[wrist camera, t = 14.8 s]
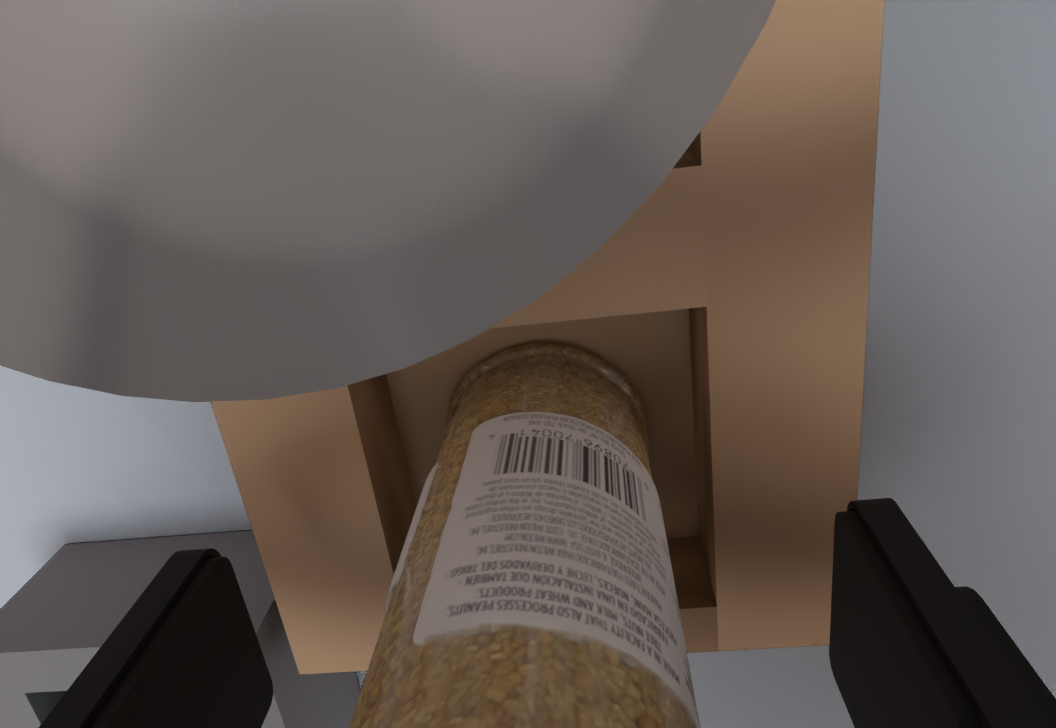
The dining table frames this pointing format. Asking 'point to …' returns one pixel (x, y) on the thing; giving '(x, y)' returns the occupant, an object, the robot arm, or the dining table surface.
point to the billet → (323, 175)
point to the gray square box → (105, 598)
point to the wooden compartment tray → (642, 370)
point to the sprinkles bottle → (535, 564)
